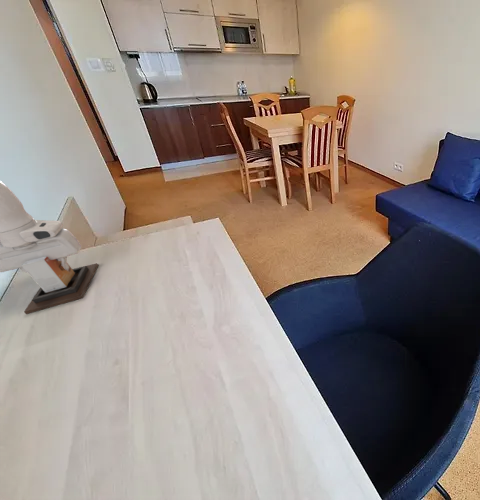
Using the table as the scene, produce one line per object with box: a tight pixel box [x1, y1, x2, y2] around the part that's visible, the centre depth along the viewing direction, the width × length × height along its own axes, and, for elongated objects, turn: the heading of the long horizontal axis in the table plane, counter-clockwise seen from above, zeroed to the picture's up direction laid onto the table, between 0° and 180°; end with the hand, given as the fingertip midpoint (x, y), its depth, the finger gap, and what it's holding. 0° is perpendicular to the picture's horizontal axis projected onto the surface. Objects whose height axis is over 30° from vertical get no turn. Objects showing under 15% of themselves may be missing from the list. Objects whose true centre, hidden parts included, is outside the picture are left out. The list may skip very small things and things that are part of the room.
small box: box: [21, 256, 75, 293], centre depth 91 cm, size 8×6×10 cm
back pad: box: [23, 262, 100, 315], centre depth 94 cm, size 14×18×2 cm
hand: (52, 272), depth 91 cm, fingers closed on small box, 5 cm apart
